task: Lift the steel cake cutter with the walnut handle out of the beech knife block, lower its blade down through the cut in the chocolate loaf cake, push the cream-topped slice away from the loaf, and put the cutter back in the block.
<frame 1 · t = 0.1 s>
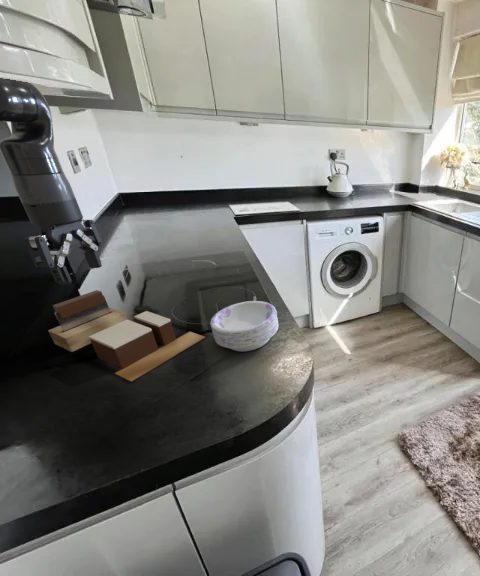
hand: (81, 275, 69), 20 cm above the table, tool pointing down, fingers open, 8 cm apart
paper bowls: (249, 341, 83), on the table
knife block: (95, 337, 83), on the table
cake cutter: (87, 318, 80), in the knife block
loaf cake: (129, 353, 76), resting on cutting board
cutting board: (145, 349, 79), on the table
cake slice: (159, 338, 81), point 1 cm above the table, touching cutting board
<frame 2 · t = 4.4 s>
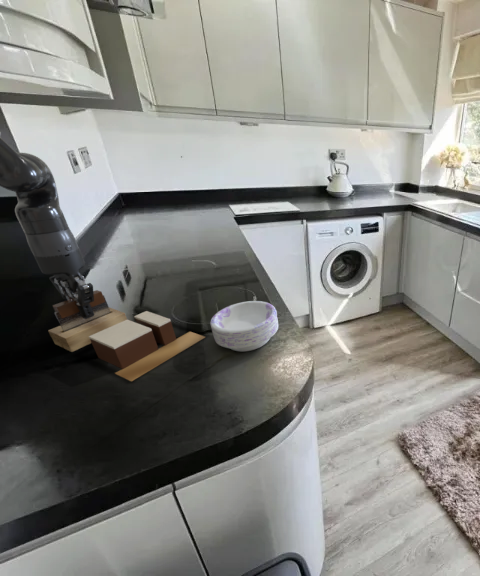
hand: (85, 315, 80), 7 cm above the table, tool pointing down, fingers closed on cake cutter, 2 cm apart
cake cutter: (87, 318, 80), in the knife block, touching gripper
everything else where it was.
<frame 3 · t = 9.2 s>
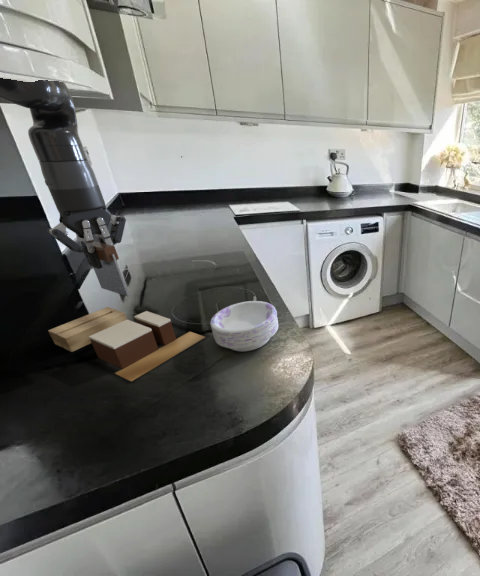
hand: (105, 265, 71), 21 cm above the table, tool pointing down, fingers closed on cake cutter
cake cutter: (106, 268, 72), point 20 cm above the table, touching gripper
everything else where it was.
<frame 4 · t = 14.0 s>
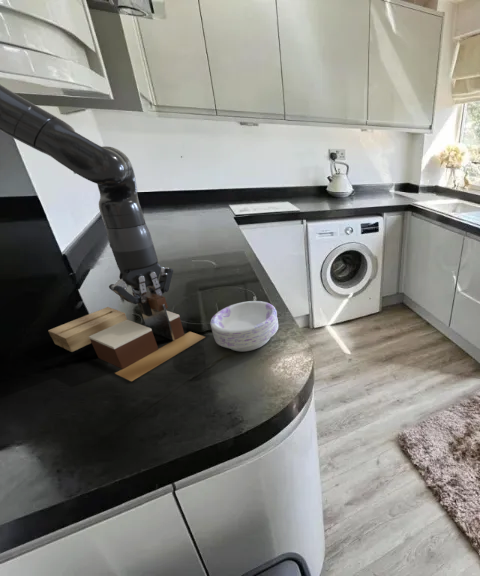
hand: (154, 312, 79), 8 cm above the table, tool pointing down, fingers closed on cake cutter, 2 cm apart
cake cutter: (154, 315, 79), point 7 cm above the table, touching cake slice, gripper
cake slice: (167, 333, 83), point 1 cm above the table, touching cake cutter, cutting board
everything else where it was.
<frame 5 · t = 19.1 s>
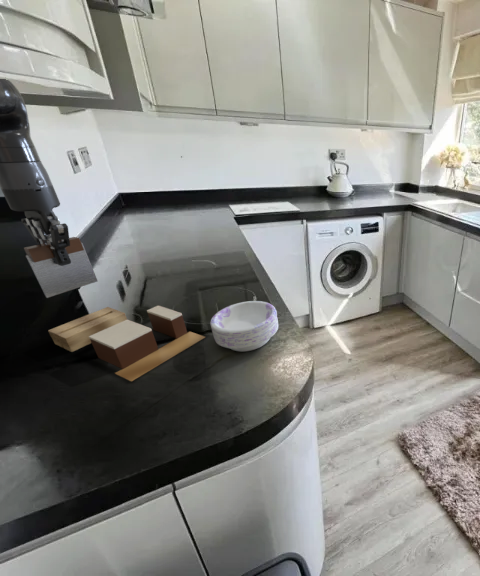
hand: (61, 263, 74), 21 cm above the table, tool pointing down, fingers closed on cake cutter
cake cutter: (63, 266, 74), point 20 cm above the table, touching gripper
cake slice: (170, 331, 84), point 1 cm above the table, touching cutting board
everything else where it was.
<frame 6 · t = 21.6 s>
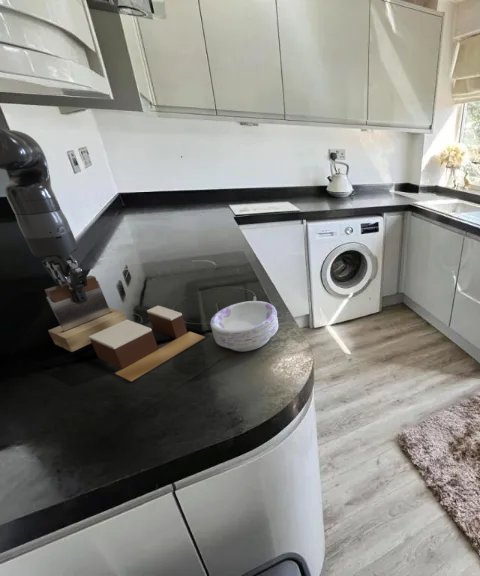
hand: (79, 301, 78), 11 cm above the table, tool pointing down, fingers closed on cake cutter, 2 cm apart
cake cutter: (80, 304, 78), point 10 cm above the table, touching gripper
everything else where it was.
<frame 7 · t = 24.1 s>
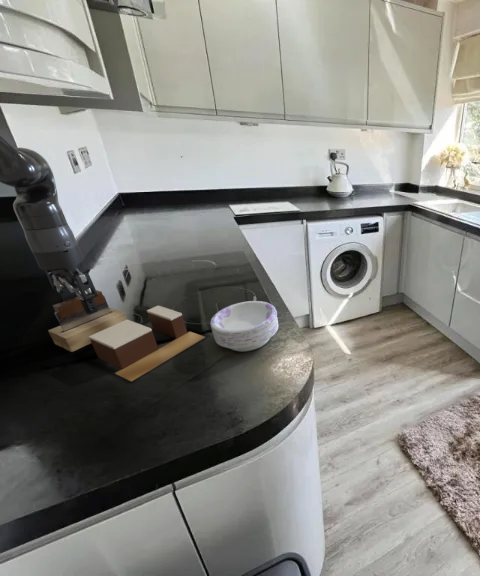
hand: (82, 308, 79), 9 cm above the table, tool pointing down, fingers open, 8 cm apart
cake cutter: (87, 318, 80), in the knife block
everything else where it was.
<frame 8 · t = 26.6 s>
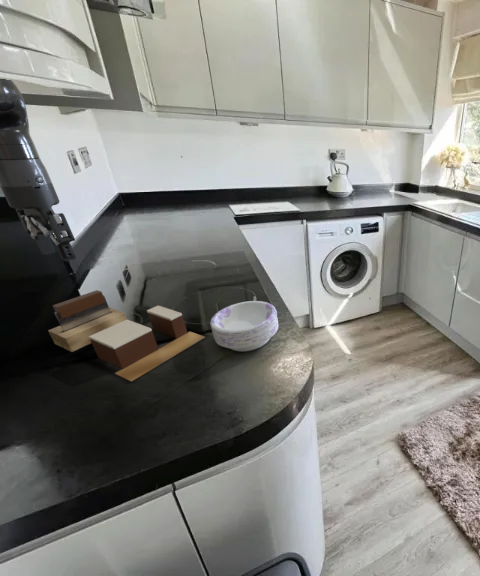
hand: (59, 256, 73), 22 cm above the table, tool pointing down, fingers open, 8 cm apart
nothing on the table moved.
at the end: cake slice moved 3.1 cm from its start; cake slice tilted 0°; cake cutter 0.0 cm off-centre on the knife block, point 5.7 cm above the knife block's base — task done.
